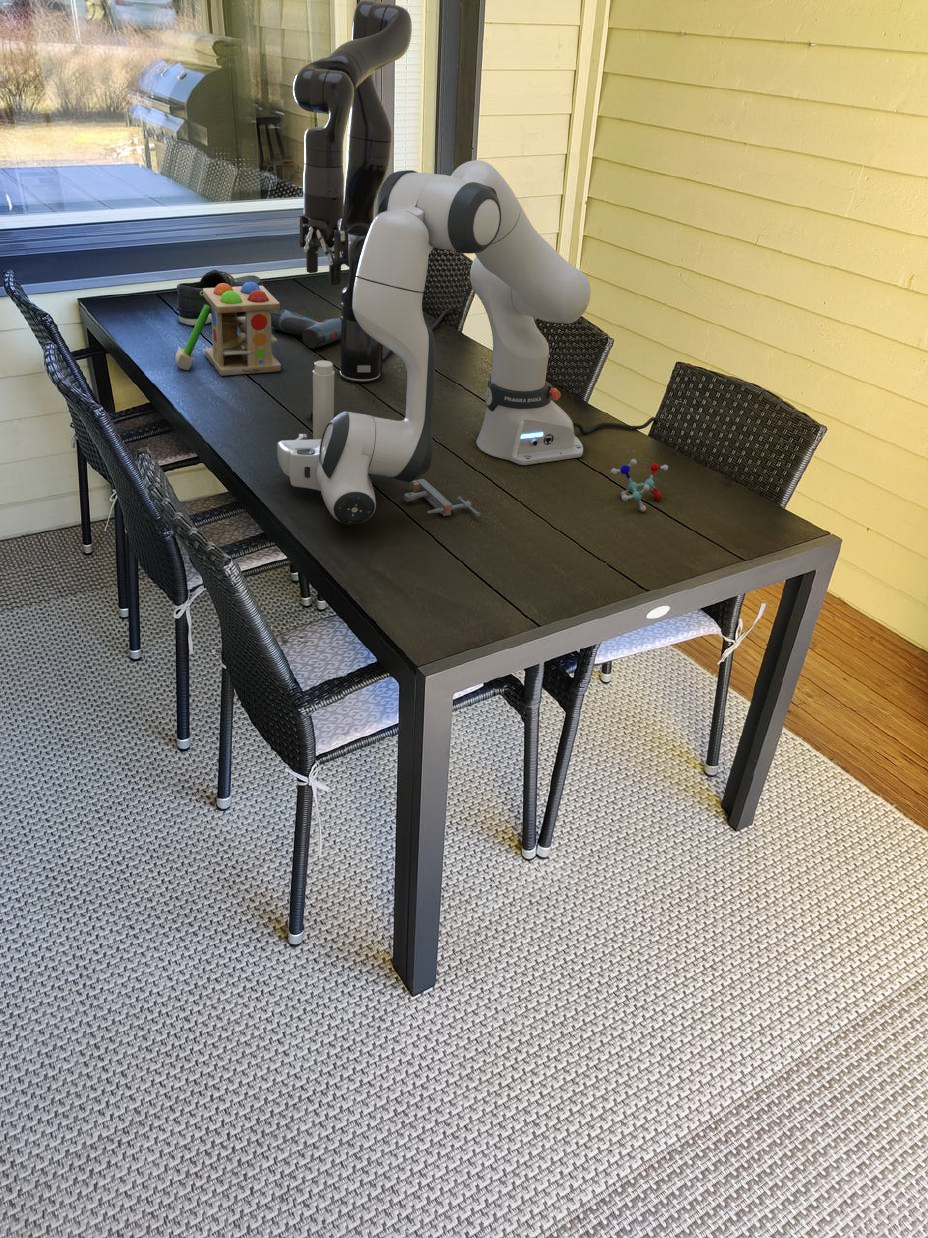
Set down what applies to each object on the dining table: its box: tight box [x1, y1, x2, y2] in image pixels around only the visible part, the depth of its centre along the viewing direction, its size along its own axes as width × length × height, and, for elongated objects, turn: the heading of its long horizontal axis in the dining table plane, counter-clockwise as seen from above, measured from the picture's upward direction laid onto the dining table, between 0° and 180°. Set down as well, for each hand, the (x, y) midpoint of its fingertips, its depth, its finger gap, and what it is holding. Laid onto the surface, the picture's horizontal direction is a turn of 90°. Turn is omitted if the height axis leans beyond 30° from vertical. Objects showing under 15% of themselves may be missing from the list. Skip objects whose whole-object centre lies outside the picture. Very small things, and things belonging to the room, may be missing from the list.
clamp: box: [403, 478, 481, 518], centre depth 180 cm, size 15×2×10 cm
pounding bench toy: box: [174, 282, 282, 377], centre depth 225 cm, size 23×14×18 cm, turn 116°
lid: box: [310, 409, 336, 422], centre depth 209 cm, size 5×5×2 cm
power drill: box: [271, 308, 341, 349], centre depth 252 cm, size 5×19×20 cm
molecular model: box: [610, 458, 669, 513], centre depth 187 cm, size 12×10×10 cm
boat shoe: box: [175, 269, 265, 326], centre depth 261 cm, size 13×33×10 cm, turn 147°
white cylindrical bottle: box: [312, 359, 336, 440], centre depth 190 cm, size 4×4×19 cm
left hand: (323, 278), depth 193 cm, fingers open, 8 cm apart
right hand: (327, 436), depth 187 cm, fingers open, 8 cm apart
